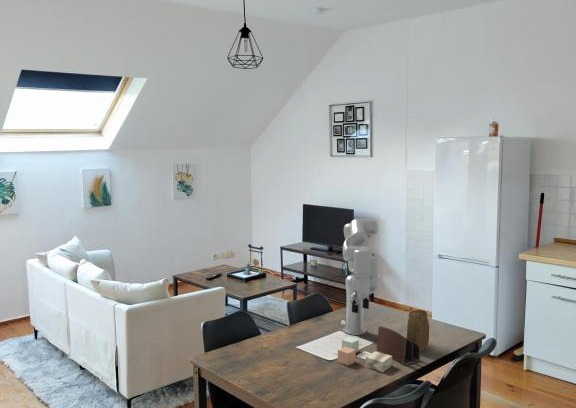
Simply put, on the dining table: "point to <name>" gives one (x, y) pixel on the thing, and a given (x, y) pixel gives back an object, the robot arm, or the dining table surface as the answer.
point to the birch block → (378, 361)
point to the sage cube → (351, 343)
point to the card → (363, 355)
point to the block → (418, 328)
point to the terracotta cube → (346, 355)
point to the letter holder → (397, 346)
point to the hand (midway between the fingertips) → (360, 310)
